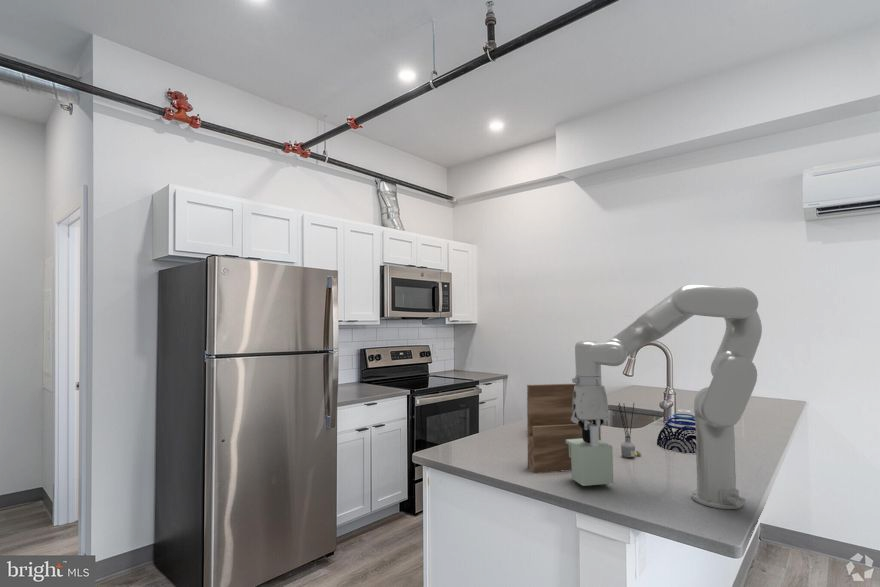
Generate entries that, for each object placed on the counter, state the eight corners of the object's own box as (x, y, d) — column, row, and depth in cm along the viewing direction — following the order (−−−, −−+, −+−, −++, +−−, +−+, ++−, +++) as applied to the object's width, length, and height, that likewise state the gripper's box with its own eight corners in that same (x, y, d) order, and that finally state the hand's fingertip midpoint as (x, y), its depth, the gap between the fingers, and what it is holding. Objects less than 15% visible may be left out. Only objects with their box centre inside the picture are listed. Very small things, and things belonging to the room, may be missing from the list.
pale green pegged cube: (613, 483, 143) (611, 425, 144) (582, 485, 141) (580, 427, 142) (595, 472, 153) (593, 418, 154) (566, 474, 151) (564, 420, 152)
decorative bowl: (721, 447, 188) (720, 410, 189) (704, 458, 175) (703, 418, 175) (668, 438, 203) (668, 404, 203) (649, 447, 189) (648, 410, 190)
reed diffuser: (625, 460, 170) (624, 404, 171) (610, 455, 176) (609, 401, 177) (644, 457, 175) (643, 402, 176) (629, 452, 181) (628, 399, 182)
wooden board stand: (601, 468, 161) (599, 385, 163) (534, 473, 157) (534, 387, 158) (592, 463, 167) (591, 383, 169) (527, 467, 163) (527, 384, 164)
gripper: (570, 384, 142) (572, 446, 141) (618, 381, 145) (621, 443, 144) (559, 381, 149) (561, 440, 148) (605, 378, 152) (607, 437, 151)
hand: (590, 441), depth 146 cm, fingers closed on pale green pegged cube
